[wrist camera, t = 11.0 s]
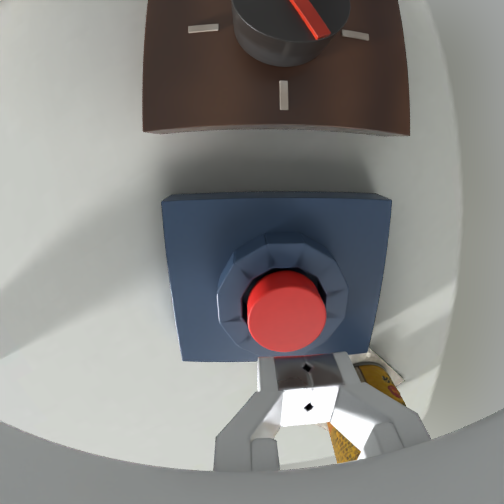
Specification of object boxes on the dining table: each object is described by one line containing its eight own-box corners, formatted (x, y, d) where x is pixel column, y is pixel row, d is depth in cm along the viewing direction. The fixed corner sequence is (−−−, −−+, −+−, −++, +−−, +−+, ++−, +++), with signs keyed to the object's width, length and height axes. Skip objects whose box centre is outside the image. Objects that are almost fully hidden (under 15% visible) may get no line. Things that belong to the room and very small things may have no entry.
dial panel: (373, -5, 12) (393, -25, 9) (385, 136, 15) (411, 136, 12) (164, -12, 12) (151, -36, 9) (159, 134, 15) (141, 131, 12)
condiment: (404, 379, 22) (460, 484, 11) (330, 431, 24) (357, 538, 13) (362, 340, 20) (430, 475, 9) (279, 402, 22) (295, 535, 11)
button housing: (376, 193, 17) (408, 206, 13) (357, 334, 20) (376, 370, 16) (171, 194, 16) (150, 208, 13) (187, 341, 20) (177, 380, 16)
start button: (321, 268, 14) (330, 284, 13) (315, 330, 15) (322, 350, 14) (246, 270, 14) (246, 287, 12) (247, 333, 15) (248, 354, 14)
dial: (217, 11, 10) (209, -28, 7) (298, -17, 10) (313, -57, 6) (262, 81, 12) (268, 57, 8) (344, 49, 11) (374, 22, 8)
